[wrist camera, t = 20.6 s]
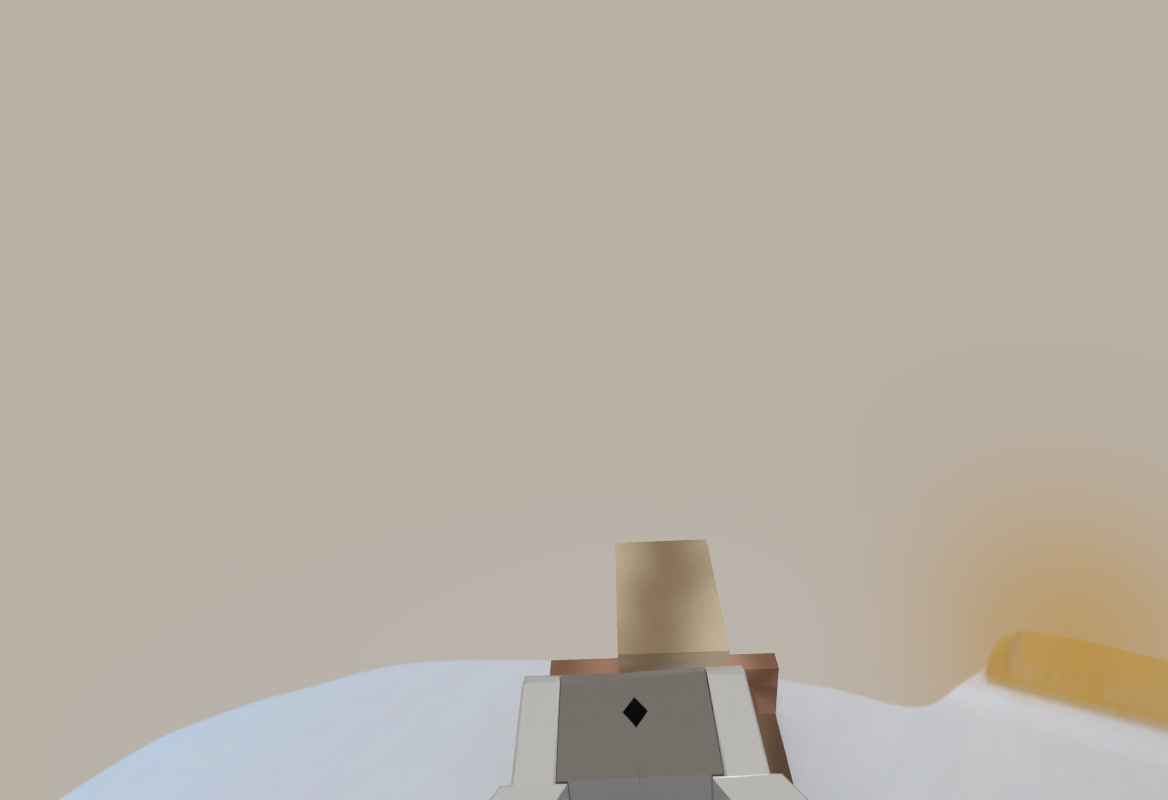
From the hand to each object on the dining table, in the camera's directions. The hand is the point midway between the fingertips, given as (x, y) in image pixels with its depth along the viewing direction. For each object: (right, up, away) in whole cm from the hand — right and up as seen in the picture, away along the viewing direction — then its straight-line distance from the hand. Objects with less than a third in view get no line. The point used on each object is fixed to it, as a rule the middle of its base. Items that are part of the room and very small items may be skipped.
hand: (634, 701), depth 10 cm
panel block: (+4, -18, +32) cm, 37 cm away
